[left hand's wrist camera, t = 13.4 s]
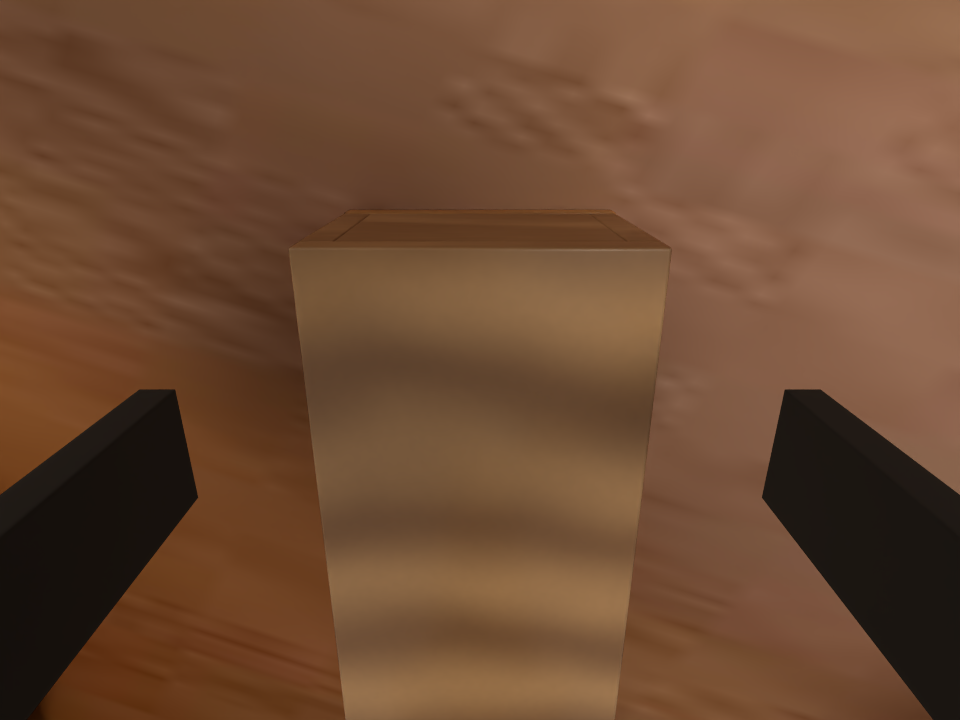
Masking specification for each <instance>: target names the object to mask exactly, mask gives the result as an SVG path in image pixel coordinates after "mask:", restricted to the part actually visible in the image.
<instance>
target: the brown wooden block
mask: <svg viewBox="0 0 960 720" xmlns="http://www.w3.org/2000/svg"><path fill="white" fill-rule="evenodd" d="M671 252H672V249H671V247H669V246H667V245H666V244H664V243H662V242H661V241H659V240H658V239H656V238H654V237H653V236H651V235H649V234H648V233H646V232H644V231H643V230H641V229H639V228H638V227H636V226H634V225H633V224H631V223H629V222H628V221H626V220H624V219H623V218H621V217H619V216H618V215H616V213H615V212H613V211H612V210H348V211H347V212H345V213H344V215H342V216H340V217H339V218H337V219H335V220H334V221H332V222H330V223H329V224H327V225H325V226H324V227H322V228H320V229H319V230H317V231H315V232H314V233H312V234H310V235H309V236H307V237H306V238H304V239H302V240H301V241H299V242H298V243H296V244H295V245H293V246H291V247H290V248H289V258H290V266H291V274H292V283H293V291H294V299H295V307H296V316H297V324H298V332H299V340H300V349H301V357H302V365H303V373H304V381H305V390H306V398H307V406H308V414H309V423H310V431H311V439H312V447H313V456H314V464H315V472H316V480H317V488H318V497H319V505H320V513H321V521H322V530H323V538H324V546H325V554H326V562H327V571H328V579H329V587H330V595H331V604H332V612H333V620H334V628H335V637H336V645H337V653H338V661H339V669H340V678H341V686H342V694H343V702H344V711H345V719H346V720H615V713H616V705H617V697H618V688H619V680H620V672H621V664H622V655H623V647H624V639H625V631H626V622H627V614H628V606H629V598H630V589H631V581H632V573H633V565H634V557H635V548H636V540H637V532H638V524H639V515H640V507H641V499H642V491H643V482H644V474H645V466H646V458H647V450H648V441H649V433H650V425H651V417H652V408H653V400H654V392H655V384H656V375H657V367H658V359H659V351H660V343H661V334H662V326H663V318H664V310H665V301H666V293H667V285H668V277H669V268H670V260H671Z"/></svg>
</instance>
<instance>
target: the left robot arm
mask: <svg viewBox="0 0 960 720" xmlns="http://www.w3.org/2000/svg"><path fill="white" fill-rule="evenodd" d="M197 498H198V495H197V490H196V486H195V481H194V476H193V472H192V467H191V462H190V457H189V453H188V448H187V443H186V439H185V434H184V429H183V424H182V420H181V415H180V410H179V406H178V401H177V396H176V391H175V390H138V391H137V392H136V393H134V394H133V395H132V396H130V397H129V398H128V399H126V400H125V401H124V402H122V403H121V404H120V405H118V406H117V407H116V408H115V409H113V410H112V411H111V412H109V413H108V414H107V415H105V416H104V417H103V418H101V419H100V420H99V421H97V422H96V423H95V424H93V425H92V426H91V427H89V428H88V429H87V430H85V431H84V432H83V433H81V434H80V435H79V436H77V437H76V438H75V439H74V440H72V441H71V442H70V443H68V444H67V445H66V446H64V447H63V448H62V449H60V450H59V451H58V452H56V453H55V454H54V455H52V456H51V457H50V458H48V459H47V460H46V461H44V462H43V463H42V464H40V465H39V466H38V467H37V468H35V469H34V470H33V471H31V472H30V473H29V474H27V475H26V476H25V477H23V478H22V479H21V480H19V481H18V482H17V483H15V484H14V485H13V486H11V487H10V488H9V489H7V490H6V491H5V492H3V493H2V494H1V495H0V720H27V719H28V717H29V716H30V715H31V713H32V712H33V711H34V710H35V708H36V707H37V706H38V704H39V703H40V702H41V700H42V699H43V698H44V697H45V695H46V694H47V693H48V691H49V690H50V689H51V687H52V686H53V685H54V684H55V682H56V681H57V680H58V678H59V677H60V676H61V675H62V673H63V672H64V671H65V669H66V668H67V667H68V665H69V664H70V663H71V662H72V660H73V659H74V658H75V656H76V655H77V654H78V652H79V651H80V650H81V649H82V647H83V646H84V645H85V643H86V642H87V641H88V640H89V638H90V637H91V636H92V634H93V633H94V632H95V630H96V629H97V628H98V627H99V625H100V624H101V623H102V621H103V620H104V619H105V617H106V616H107V615H108V614H109V612H110V611H111V610H112V608H113V607H114V606H115V605H116V603H117V602H118V601H119V599H120V598H121V597H122V595H123V594H124V593H125V592H126V590H127V589H128V588H129V586H130V585H131V584H132V582H133V581H134V580H135V579H136V577H137V576H138V575H139V573H140V572H141V571H142V570H143V568H144V567H145V566H146V564H147V563H148V562H149V560H150V559H151V558H152V557H153V555H154V554H155V553H156V551H157V550H158V549H159V548H160V546H161V545H162V544H163V542H164V541H165V540H166V538H167V537H168V536H169V535H170V533H171V532H172V531H173V529H174V528H175V527H176V525H177V524H178V523H179V522H180V520H181V519H182V518H183V516H184V515H185V514H186V513H187V511H188V510H189V509H190V507H191V506H192V505H193V503H194V502H195V501H196V500H197ZM762 498H763V500H764V501H765V502H766V503H767V505H768V506H769V507H770V509H771V510H772V511H773V513H774V514H775V515H776V516H777V518H778V519H779V520H780V522H781V523H782V524H783V525H784V527H785V528H786V529H787V531H788V532H789V533H790V535H791V536H792V537H793V538H794V540H795V541H796V542H797V544H798V545H799V546H800V548H801V549H802V550H803V551H804V553H805V554H806V555H807V557H808V558H809V559H810V560H811V562H812V563H813V564H814V566H815V567H816V568H817V570H818V571H819V572H820V573H821V575H822V576H823V577H824V579H825V580H826V581H827V583H828V584H829V585H830V586H831V588H832V589H833V590H834V592H835V593H836V594H837V595H838V597H839V598H840V599H841V601H842V602H843V603H844V605H845V606H846V607H847V608H848V610H849V611H850V612H851V614H852V615H853V616H854V617H855V619H856V620H857V621H858V623H859V624H860V625H861V627H862V628H863V629H864V630H865V632H866V633H867V634H868V636H869V637H870V638H871V640H872V641H873V642H874V643H875V645H876V646H877V647H878V649H879V650H880V651H881V652H882V654H883V655H884V656H885V658H886V659H887V660H888V662H889V663H890V664H891V665H892V667H893V668H894V669H895V671H896V672H897V673H898V675H899V676H900V677H901V678H902V680H903V681H904V682H905V684H906V685H907V686H908V687H909V689H910V690H911V691H912V693H913V694H914V695H915V697H916V698H917V699H918V700H919V702H920V703H921V704H922V706H923V707H924V708H925V710H926V711H927V712H928V713H929V715H930V716H931V717H932V719H933V720H960V495H959V494H958V493H957V492H955V491H954V490H953V489H951V488H950V487H949V486H947V485H946V484H945V483H943V482H942V481H941V480H939V479H938V478H937V477H935V476H934V475H933V474H931V473H930V472H929V471H927V470H926V469H925V468H923V467H922V466H921V465H920V464H918V463H917V462H916V461H914V460H913V459H912V458H910V457H909V456H908V455H906V454H905V453H904V452H902V451H901V450H900V449H898V448H897V447H896V446H894V445H893V444H892V443H890V442H889V441H888V440H886V439H885V438H884V437H883V436H881V435H880V434H879V433H877V432H876V431H875V430H873V429H872V428H871V427H869V426H868V425H867V424H865V423H864V422H863V421H861V420H860V419H859V418H857V417H856V416H855V415H853V414H852V413H851V412H849V411H848V410H847V409H845V408H844V407H843V406H842V405H840V404H839V403H838V402H836V401H835V400H834V399H832V398H831V397H830V396H828V395H827V394H826V393H824V392H823V391H822V390H785V391H784V396H783V401H782V406H781V410H780V415H779V420H778V424H777V429H776V434H775V439H774V443H773V448H772V453H771V457H770V462H769V467H768V472H767V476H766V481H765V486H764V490H763V495H762Z"/></svg>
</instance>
